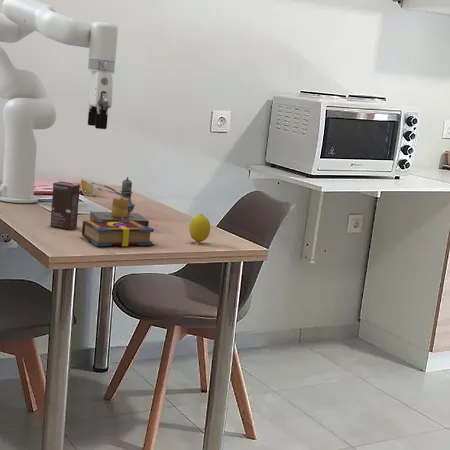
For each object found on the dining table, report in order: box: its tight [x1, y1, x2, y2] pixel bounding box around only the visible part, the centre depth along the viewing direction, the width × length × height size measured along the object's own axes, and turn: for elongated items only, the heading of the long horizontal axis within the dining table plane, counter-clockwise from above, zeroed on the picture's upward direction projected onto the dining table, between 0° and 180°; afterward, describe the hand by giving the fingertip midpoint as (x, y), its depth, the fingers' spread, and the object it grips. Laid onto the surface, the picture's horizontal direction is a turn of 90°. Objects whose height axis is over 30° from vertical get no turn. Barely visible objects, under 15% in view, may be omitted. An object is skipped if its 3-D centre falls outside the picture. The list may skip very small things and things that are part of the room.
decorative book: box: [81, 220, 154, 247], centre depth 192 cm, size 11×16×5 cm
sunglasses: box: [79, 177, 121, 197], centre depth 264 cm, size 14×15×5 cm
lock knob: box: [111, 196, 129, 218], centre depth 210 cm, size 4×4×5 cm
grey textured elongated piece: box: [119, 176, 136, 213], centre depth 227 cm, size 6×6×12 cm
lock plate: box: [89, 211, 150, 227], centre depth 211 cm, size 14×11×3 cm
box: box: [50, 180, 81, 230], centre depth 201 cm, size 6×4×12 cm
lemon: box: [188, 213, 211, 244], centre depth 200 cm, size 6×6×8 cm
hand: (96, 127), depth 217 cm, fingers open, 9 cm apart
